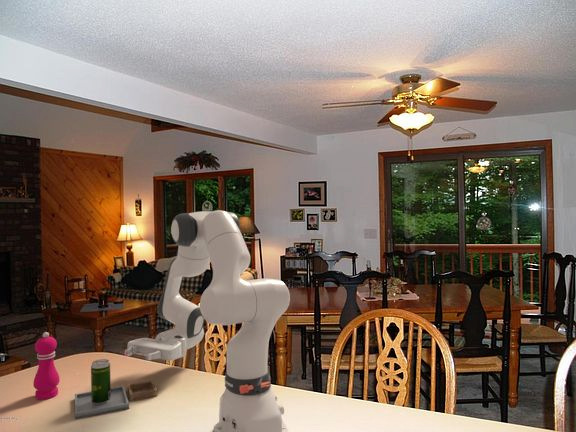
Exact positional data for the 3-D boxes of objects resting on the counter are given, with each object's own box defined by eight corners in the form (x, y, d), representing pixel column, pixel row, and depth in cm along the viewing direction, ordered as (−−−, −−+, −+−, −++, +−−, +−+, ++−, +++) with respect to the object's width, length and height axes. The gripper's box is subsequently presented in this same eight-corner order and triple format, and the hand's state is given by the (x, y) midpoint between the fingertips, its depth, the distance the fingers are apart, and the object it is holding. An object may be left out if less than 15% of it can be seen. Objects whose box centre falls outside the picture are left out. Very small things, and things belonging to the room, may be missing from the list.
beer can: (111, 396, 136) (111, 358, 136) (109, 404, 131) (109, 364, 130) (92, 398, 134) (92, 359, 134) (90, 406, 129) (89, 365, 129)
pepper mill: (48, 401, 134) (47, 336, 134) (28, 399, 136) (26, 334, 135) (65, 391, 141) (63, 329, 141) (45, 389, 143) (44, 328, 142)
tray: (129, 408, 129) (128, 403, 129) (75, 419, 123) (75, 413, 123) (123, 390, 142) (123, 385, 142) (74, 399, 136) (74, 394, 136)
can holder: (157, 395, 138) (157, 389, 138) (130, 401, 134) (130, 394, 134) (153, 386, 145) (152, 380, 145) (127, 391, 141) (127, 384, 141)
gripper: (145, 331, 160) (114, 341, 148) (188, 338, 150) (159, 350, 138) (145, 348, 160) (114, 360, 148) (189, 357, 150) (159, 370, 138)
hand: (136, 355), depth 143 cm, fingers open, 8 cm apart
